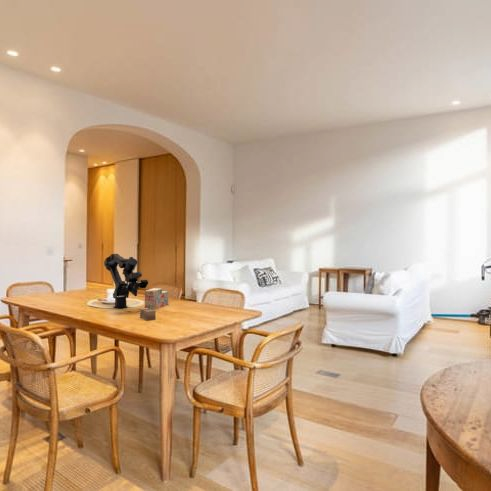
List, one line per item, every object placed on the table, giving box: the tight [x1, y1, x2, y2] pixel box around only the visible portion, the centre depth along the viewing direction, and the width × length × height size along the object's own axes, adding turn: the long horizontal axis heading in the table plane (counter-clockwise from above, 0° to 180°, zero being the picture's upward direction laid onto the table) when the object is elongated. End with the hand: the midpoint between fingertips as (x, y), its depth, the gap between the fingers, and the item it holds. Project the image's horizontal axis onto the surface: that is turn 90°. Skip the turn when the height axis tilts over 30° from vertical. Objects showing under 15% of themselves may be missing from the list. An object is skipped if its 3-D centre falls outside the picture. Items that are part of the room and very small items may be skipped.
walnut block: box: [139, 307, 157, 322], centre depth 221 cm, size 5×5×10 cm
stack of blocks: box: [144, 287, 169, 311], centre depth 258 cm, size 21×6×12 cm, turn 166°
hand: (136, 295), depth 234 cm, fingers closed
